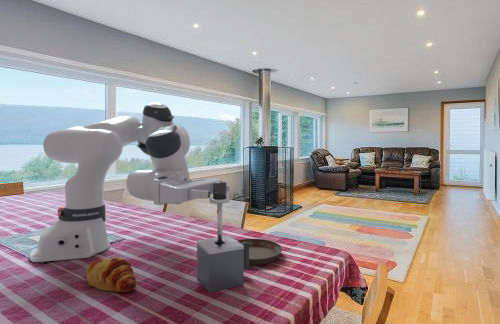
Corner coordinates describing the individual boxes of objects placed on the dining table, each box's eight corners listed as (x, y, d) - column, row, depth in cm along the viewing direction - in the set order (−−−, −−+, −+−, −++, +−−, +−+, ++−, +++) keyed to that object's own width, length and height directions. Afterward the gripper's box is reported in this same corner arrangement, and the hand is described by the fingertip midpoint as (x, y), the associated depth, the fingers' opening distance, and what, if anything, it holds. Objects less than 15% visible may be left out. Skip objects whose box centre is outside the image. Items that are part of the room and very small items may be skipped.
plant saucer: (266, 273, 88) (266, 262, 88) (213, 260, 97) (213, 250, 96) (291, 253, 103) (291, 244, 103) (243, 244, 112) (243, 235, 112)
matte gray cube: (209, 292, 76) (209, 251, 75) (197, 277, 84) (197, 240, 83) (255, 282, 82) (256, 243, 81) (240, 269, 90) (240, 234, 89)
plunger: (213, 247, 78) (213, 184, 77) (206, 241, 82) (206, 181, 81) (233, 244, 80) (233, 183, 79) (225, 238, 85) (225, 180, 84)
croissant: (80, 287, 86) (64, 266, 82) (111, 260, 92) (98, 239, 89) (124, 313, 73) (107, 288, 69) (157, 279, 79) (142, 255, 76)
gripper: (198, 193, 97) (238, 197, 91) (149, 205, 79) (195, 212, 73) (198, 172, 97) (238, 175, 91) (148, 180, 78) (195, 184, 72)
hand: (219, 192), depth 82 cm, fingers open, 8 cm apart
